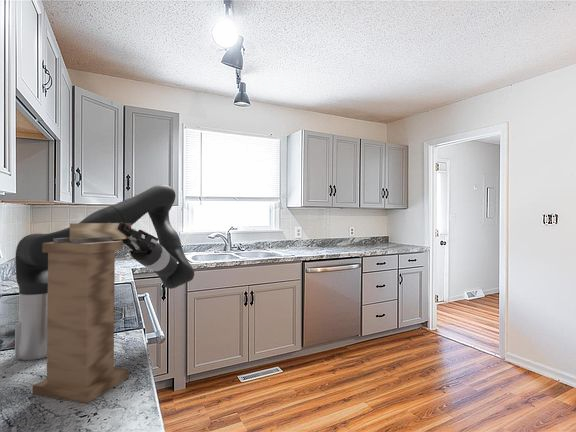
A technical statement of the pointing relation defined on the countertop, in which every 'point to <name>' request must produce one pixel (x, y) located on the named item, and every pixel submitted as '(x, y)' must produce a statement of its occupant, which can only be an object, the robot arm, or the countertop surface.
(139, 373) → the countertop surface
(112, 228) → the maple bar
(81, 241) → the walnut stand
